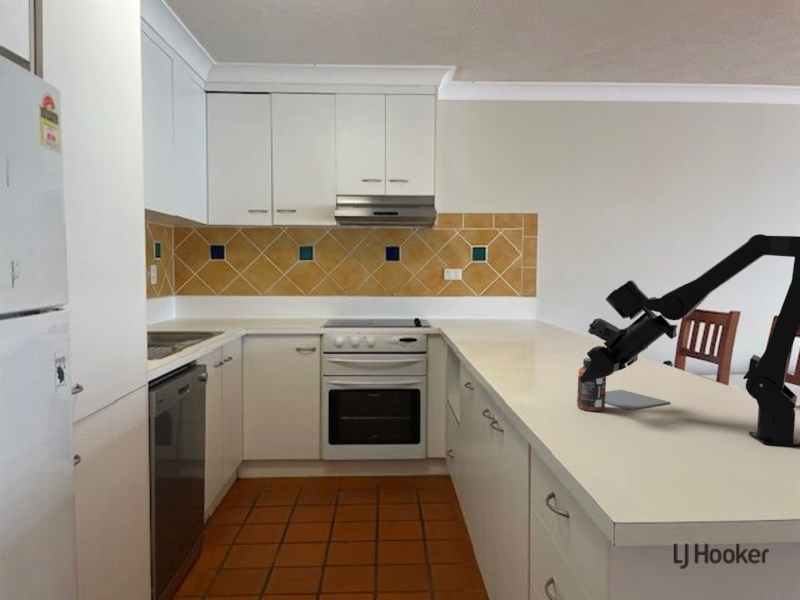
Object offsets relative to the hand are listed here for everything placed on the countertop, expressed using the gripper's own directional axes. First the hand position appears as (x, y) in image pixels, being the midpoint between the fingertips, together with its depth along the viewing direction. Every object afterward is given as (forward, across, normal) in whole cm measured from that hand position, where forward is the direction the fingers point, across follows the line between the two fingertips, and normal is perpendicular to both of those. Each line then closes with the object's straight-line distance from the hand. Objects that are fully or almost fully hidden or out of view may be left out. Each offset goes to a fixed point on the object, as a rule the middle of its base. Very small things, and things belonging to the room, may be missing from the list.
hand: (585, 379), depth 124 cm
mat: (+1, -14, +8) cm, 16 cm away
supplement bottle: (+4, 0, +6) cm, 7 cm away
